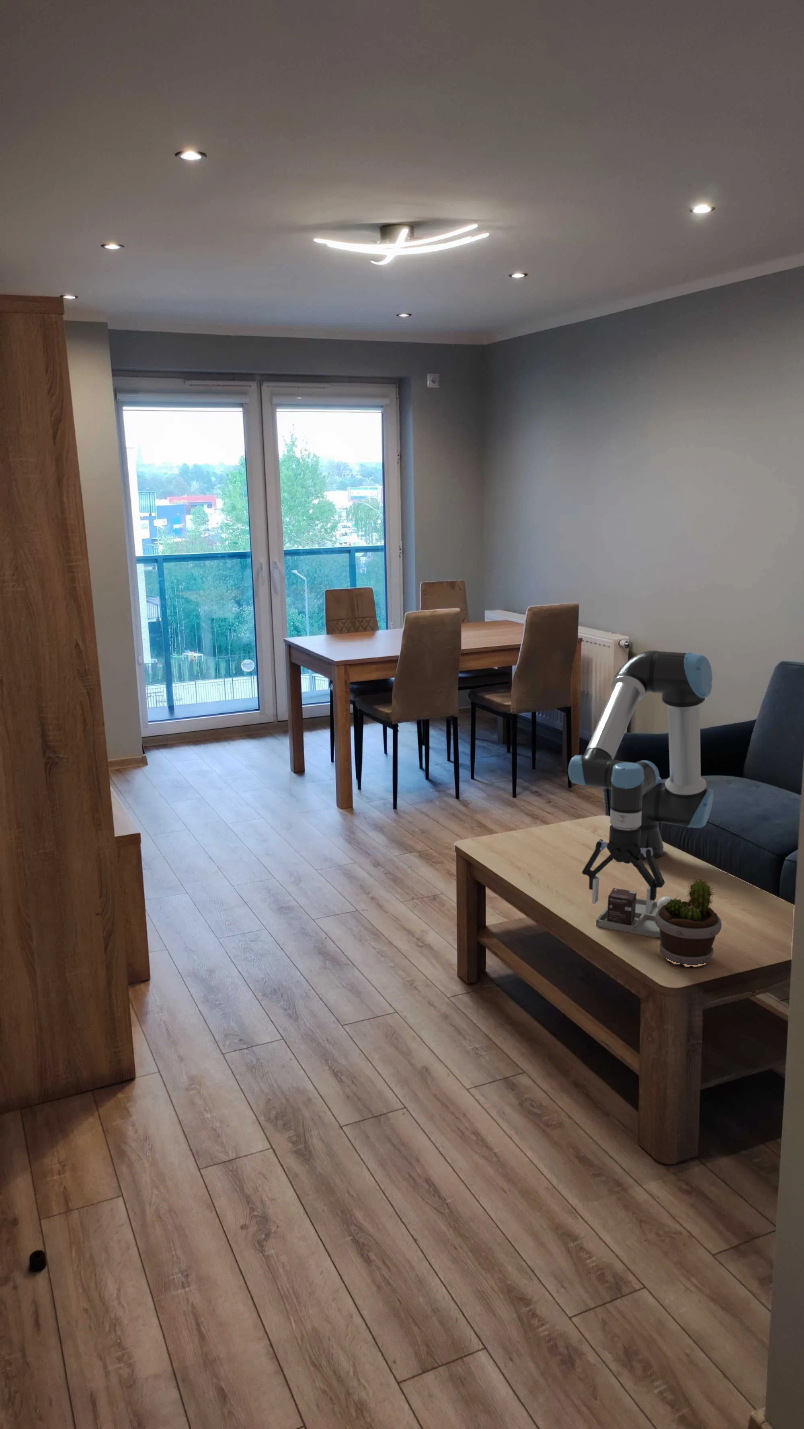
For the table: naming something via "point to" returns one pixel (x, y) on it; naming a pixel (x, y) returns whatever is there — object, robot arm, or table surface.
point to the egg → (663, 901)
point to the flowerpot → (689, 926)
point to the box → (621, 906)
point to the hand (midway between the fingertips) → (621, 906)
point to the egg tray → (635, 920)
